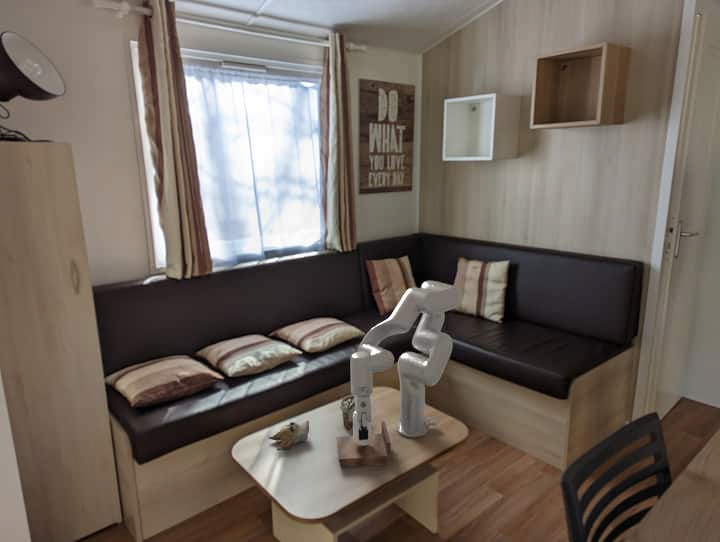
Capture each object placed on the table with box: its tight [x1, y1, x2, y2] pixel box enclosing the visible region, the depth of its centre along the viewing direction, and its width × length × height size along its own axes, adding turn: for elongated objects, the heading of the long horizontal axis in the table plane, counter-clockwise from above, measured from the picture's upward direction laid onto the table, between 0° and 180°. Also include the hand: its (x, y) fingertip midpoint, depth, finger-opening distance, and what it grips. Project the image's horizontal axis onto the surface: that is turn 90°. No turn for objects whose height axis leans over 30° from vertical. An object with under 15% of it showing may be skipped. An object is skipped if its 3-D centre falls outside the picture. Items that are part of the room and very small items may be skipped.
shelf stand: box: [336, 420, 392, 469], centre depth 180 cm, size 18×14×9 cm
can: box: [352, 410, 372, 446], centre depth 179 cm, size 6×6×12 cm
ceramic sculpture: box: [268, 420, 310, 451], centre depth 189 cm, size 11×9×15 cm
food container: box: [339, 394, 355, 431], centre depth 202 cm, size 12×6×10 cm, turn 149°
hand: (362, 433), depth 179 cm, fingers closed on can, 6 cm apart
